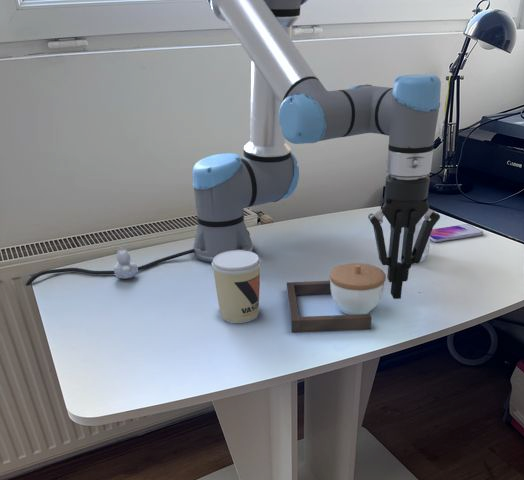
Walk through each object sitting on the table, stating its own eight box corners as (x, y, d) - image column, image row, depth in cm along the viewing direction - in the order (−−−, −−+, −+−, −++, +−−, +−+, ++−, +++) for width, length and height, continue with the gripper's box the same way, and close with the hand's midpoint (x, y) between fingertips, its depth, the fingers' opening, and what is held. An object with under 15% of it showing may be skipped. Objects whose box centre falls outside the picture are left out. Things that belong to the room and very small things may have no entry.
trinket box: (379, 297, 107) (383, 255, 102) (384, 322, 98) (389, 277, 93) (328, 296, 109) (330, 255, 103) (328, 321, 100) (330, 277, 95)
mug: (409, 272, 117) (415, 227, 112) (382, 254, 127) (386, 211, 121) (441, 266, 119) (448, 222, 114) (412, 249, 129) (418, 207, 123)
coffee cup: (246, 329, 98) (242, 272, 91) (207, 318, 102) (201, 262, 96) (271, 309, 104) (269, 254, 98) (233, 300, 109) (230, 246, 102)
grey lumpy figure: (137, 271, 124) (131, 239, 119) (141, 281, 118) (135, 249, 114) (114, 275, 122) (107, 243, 118) (117, 285, 117) (110, 252, 113)
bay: (291, 332, 96) (291, 320, 95) (286, 292, 111) (286, 282, 109) (370, 329, 96) (371, 317, 95) (355, 290, 111) (356, 279, 109)
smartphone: (484, 232, 135) (435, 240, 131) (484, 235, 135) (434, 243, 132) (467, 223, 141) (420, 230, 137) (467, 226, 141) (419, 233, 138)
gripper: (375, 182, 86) (366, 306, 99) (452, 178, 86) (433, 302, 99) (367, 171, 93) (359, 289, 105) (438, 168, 93) (422, 286, 105)
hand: (395, 295), depth 102 cm, fingers closed
